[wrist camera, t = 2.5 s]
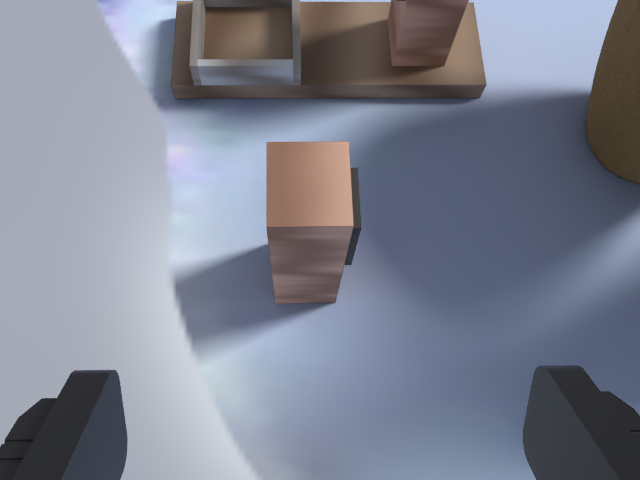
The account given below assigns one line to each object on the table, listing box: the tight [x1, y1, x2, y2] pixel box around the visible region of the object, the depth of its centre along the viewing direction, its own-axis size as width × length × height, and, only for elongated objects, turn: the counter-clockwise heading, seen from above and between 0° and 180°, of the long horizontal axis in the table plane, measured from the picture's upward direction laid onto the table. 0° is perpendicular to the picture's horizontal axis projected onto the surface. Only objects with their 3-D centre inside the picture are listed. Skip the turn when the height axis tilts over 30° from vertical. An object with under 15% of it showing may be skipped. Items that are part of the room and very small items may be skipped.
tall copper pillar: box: [267, 142, 361, 304], centre depth 31 cm, size 4×4×12 cm
